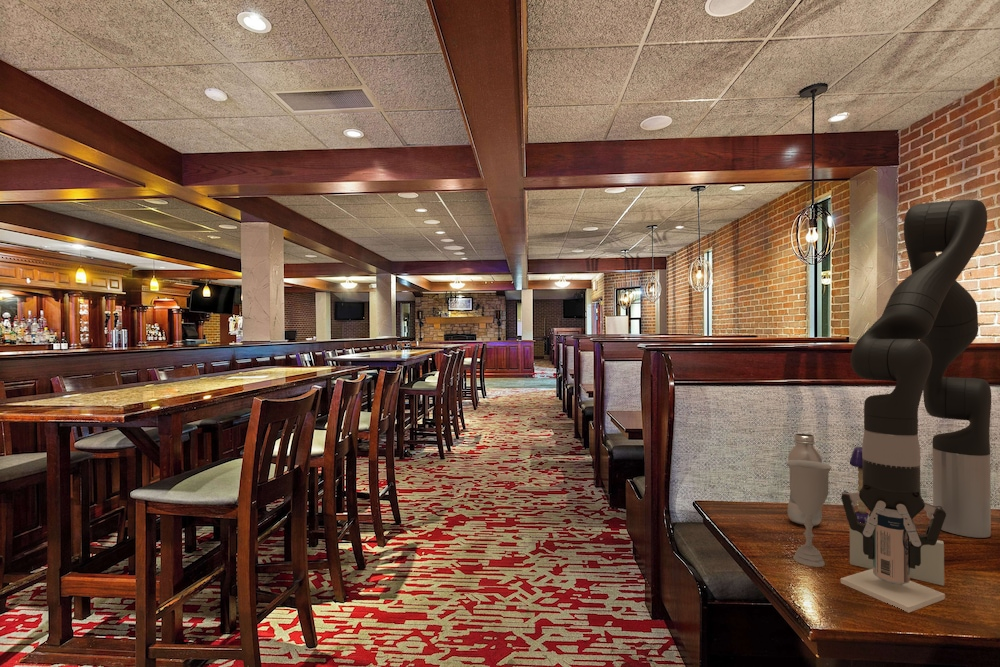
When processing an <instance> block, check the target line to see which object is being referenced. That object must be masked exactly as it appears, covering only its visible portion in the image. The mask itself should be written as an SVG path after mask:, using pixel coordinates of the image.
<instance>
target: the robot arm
mask: <svg viewBox="0 0 1000 667" xmlns="http://www.w3.org/2000/svg"><path fill="white" fill-rule="evenodd" d="M987 225H988V211H987V206H986V205H985V204H984V202H982V201H981V200H979V199H956V200H945V201H944V200H943V201H934V202H924V203H918V204H915V205H912V206H911V207H909V208H908V210H907V212H906V213H905V216H904V220H903V238H904V239H903V240H904V243H905V248H906V254H907V258H908V262H909V267H910V271H911V274H909V275H908V276H907V277H906V278H904V279H903V280H902V281H901V282H899V284H898V285H897V286H896V287H895V288H894V290H893V291H892V293H891V295H890V296H889V299H888V300H887V303H886V305H885V307H884V310H883V312H882V315H880V317H879V318H878V319H877V320H876V321H874V322H873V324H872V325H871V326H870V327H869V328H868V329H867V330H866V331H865V333H863V334H862V336H861V337H860V338H858V340H857V341H856V343H855V344H854V346H853V348H852V350H851V353H850V366H851V368H852V371H853V372H854V373H855V375H857V376H859V377H860V378H861V379H865V380H869V381H870V380H871V381H872V380H873V381H881V382H882V381H885V382H896V385H895V387H894V389H893V390H892V391H891V392H890V393H887V394H886V393H885V394H876V395H875V394H873V395H869V396H868V397H866V398H865V400H864V403H863V404H864V405H863V413H864V414H863V428H864V429H863V435H862V436H863V437H862V443H861V444H862V446H861V447H862V457H863V487H862V489H861V490H860V492H859V491H858V492H848V491H846V490H845V491H842V492H841V496H840V499H841V502H842V505H843V509H844V512H845V516H846V519H847V522H848V525H849V529H850V528H851V529H852V530H854V531H858V532H860V533H861V534H862V536H863V552H864V554H865V555H868V559H872V560H873V534H872V533H873V531H874V529H875V527H876V525H877V523H878V515H877V514H876V513H878V512H879V511H884V509H885V508H887V509H893V510H898V512H899V514H900V515H902V516H903V517H905V518H907V519H905V518H904V526H905V529H906V531H907V533H908V535H909V538H910V541H909V567H910V568H913V569H915V565H916V566H920V564H921V547H922V546H923V545H932V546H933V545H935V544H936V542H937V540H938V539H939V536H940V534H941V531H944V532H946V533H950V534H954V535H958V536H963V537H966V538H967V537H968V538H976V539H977V538H978V539H982V538H983V539H985V538H989V537H991V536H992V532H991V530H992V528H991V524H992V522H991V520H992V519H991V513H992V512H991V511H992V510H991V509H992V506H991V504H992V503H991V501H992V500H991V493H992V492H991V445H990V427H991V426H990V424H991V411H992V388H991V385H990V384H989V381H987V380H985V379H984V378H977V377H973V378H972V377H957V376H956V377H954V376H944V374H945V372H946V370H947V369H948V368H949V366H950V365H951V364H952V363H953V361H955V360H956V359H957V357H959V356H960V355H961V354H962V353H964V352H965V351H966V350H967V349H968V348H969V347H970V345H972V344H973V342H974V341H975V339H976V338H977V335H978V333H979V317H978V313H979V312H978V305H977V302H976V300H975V299H974V297H973V296H972V295H971V294H970V292H968V290H967V289H966V288H964V287H963V286H962V285H961V283H960V282H958V281H957V279H958V278H959V277H960V275H961V274H962V272H963V271H964V269H965V268H966V267H967V266H968V263H969V262H970V260H971V259H972V258H973V256H974V255H975V253H976V252H977V249H979V247H980V245H981V243H982V241H983V239H984V236H985V234H986V231H987V228H988V227H987ZM937 253H939V254H938V255H937ZM922 395H923V396H922ZM922 397H923V405H924V408H925V410H926V412H927V414H928V415H929V416H931V417H934V418H940V419H948V420H957V421H958V420H960V421H968V422H969V424H968V425H967V426H966V427H963V428H961V429H958V430H956V431H950V432H944V433H939V434H936V435H933V436H932V437H933V438H932V504H930V503H928V502H925V501H924V499H923V498H922V495H921V447H920V441H919V435H918V434H919V432H918V431H919V418H918V417H919V416H918V415H919V406H920V402H921V399H922ZM859 499H861V500H862V502H863V503H864V504H865V505H866V507H867V510H868V511H869V513H868V514H869V515H868V518H867V520H866V522H865V523H860V522H858V519H857V515H856V512H857V511H856V510H855V507H856V506H858V500H859ZM923 510H924V511H925V512H926V517H927V518H928V519H929V523H928V526H927V529H926V532H925V533H923V534H922V533H921V534H919V532H918V530H917V527H916V524H915V521H914V518H915V517H916V516H917V515H918V514H919V513H921V512H922V511H923Z"/></svg>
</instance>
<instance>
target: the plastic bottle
mask: <svg viewBox="0 0 1000 667" xmlns="http://www.w3.org/2000/svg"><path fill="white" fill-rule="evenodd" d="M793 441H794V443H795V445H794V446H793V447H792V449H791V450H790V452H788V455H787V461H789V460H806V461H815V462H820V463H823V459H822V457H821V456H822V455H821V454H820V453H819V451H818V450H817V449H816V448H815V446H814V445H815V444H816V443H815V436H814V434H810V433H795V434H794V440H793ZM787 516H788V518H789V519H790V521H791V522H793V523H796V524H798V525H802V526H805V525H804V523H805V520H806V516H805V513H803V512H801V511H800V510H799V508H798V506H797V504H796V502H795V500H794V499H793V496H792V493H791V491H790V490H789V501H788V504H787ZM822 516H823V512H822V508H821V509H820V511H819V512H818V514H814V515H812V523H813V525H814V526H813V527H815V526H818V525H819V524H821V522H822V518H823V517H822Z"/></svg>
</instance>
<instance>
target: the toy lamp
mask: <svg viewBox="0 0 1000 667" xmlns="http://www.w3.org/2000/svg"><path fill="white" fill-rule="evenodd" d="M849 465H850V466H852V467H856V468H857V472H858V474H857V478H858V480H857V483H858V484H857V485H858V486H857V491H858V492H860V490H861V489H862V487H863V457H862V446H856V447H854V448H853V451H852V453H851V457H850V459H849ZM855 512H856V515H857V519H858V522H861V523H862V524H865V522H866V520H867V518H868V515H869V513H868V508H867V507H866V505H865V504H864V503H863V502H862V500H861V499H859V500H858V501H857V511H855Z"/></svg>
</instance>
